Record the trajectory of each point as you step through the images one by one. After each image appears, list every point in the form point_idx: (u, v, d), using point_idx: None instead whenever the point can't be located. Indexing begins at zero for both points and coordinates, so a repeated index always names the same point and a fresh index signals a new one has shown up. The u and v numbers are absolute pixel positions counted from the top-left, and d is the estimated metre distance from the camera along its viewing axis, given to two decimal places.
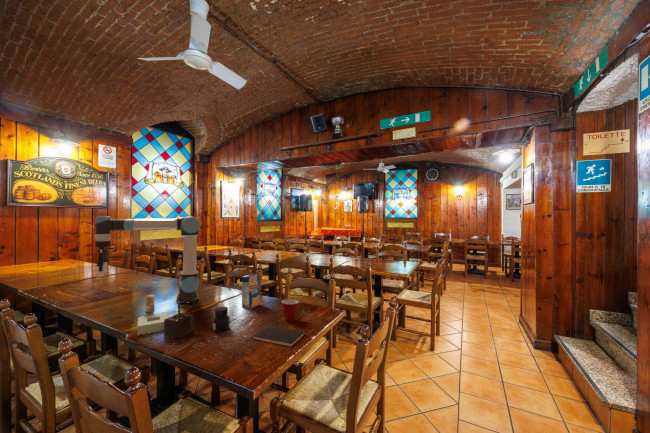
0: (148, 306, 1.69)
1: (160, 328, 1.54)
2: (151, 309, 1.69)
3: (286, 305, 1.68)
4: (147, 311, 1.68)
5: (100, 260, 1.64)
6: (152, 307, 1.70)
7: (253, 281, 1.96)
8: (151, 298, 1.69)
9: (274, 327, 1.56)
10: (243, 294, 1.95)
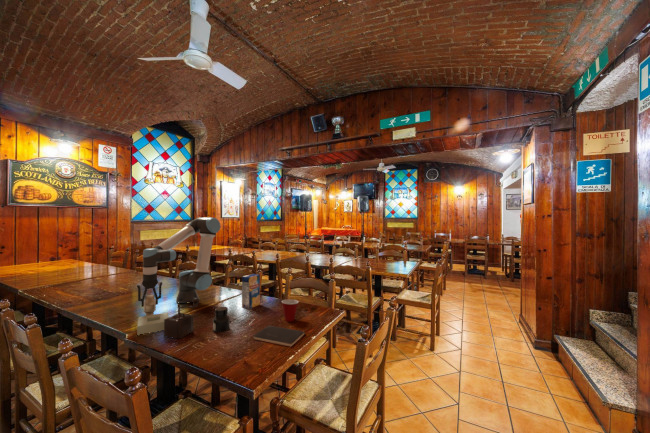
0: (148, 306, 1.69)
1: (160, 328, 1.54)
2: (151, 309, 1.69)
3: (286, 305, 1.68)
4: (147, 311, 1.68)
5: (138, 296, 1.68)
6: (152, 307, 1.70)
7: (253, 281, 1.96)
8: (151, 298, 1.69)
9: (274, 327, 1.56)
10: (243, 294, 1.95)
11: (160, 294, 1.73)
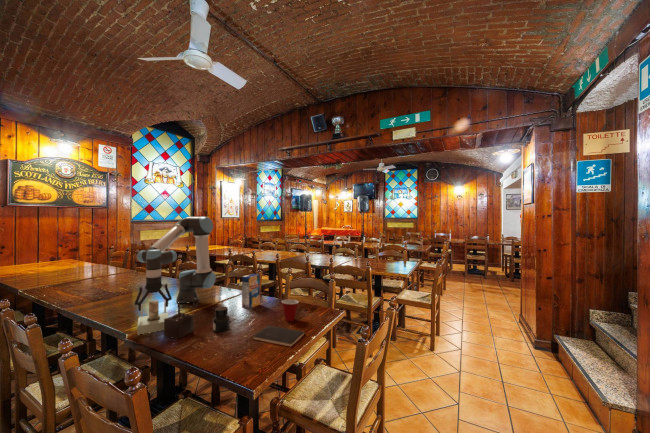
0: (152, 313, 1.57)
1: (160, 328, 1.54)
2: (155, 316, 1.58)
3: (286, 305, 1.68)
4: (151, 318, 1.57)
5: (136, 299, 1.55)
6: (156, 314, 1.58)
7: (253, 281, 1.96)
8: (155, 304, 1.58)
9: (274, 327, 1.56)
10: (243, 294, 1.95)
11: (169, 296, 1.62)
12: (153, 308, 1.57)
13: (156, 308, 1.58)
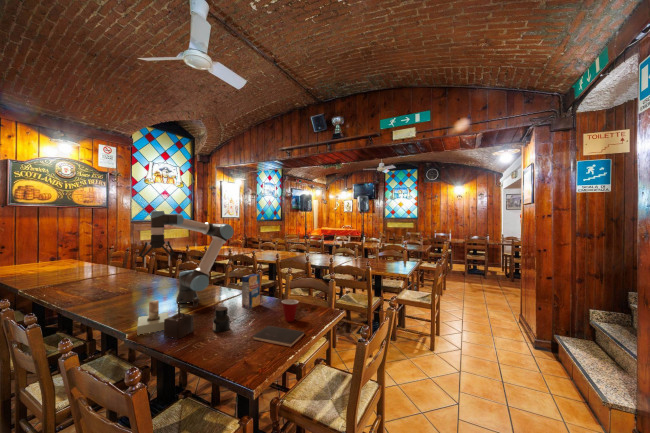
0: (152, 313, 1.57)
1: (160, 328, 1.54)
2: (155, 316, 1.58)
3: (286, 305, 1.68)
4: (151, 318, 1.57)
5: None
6: (156, 314, 1.58)
7: (253, 281, 1.96)
8: (155, 304, 1.58)
9: (273, 327, 1.56)
10: (243, 294, 1.95)
11: (173, 251, 1.83)
12: (153, 308, 1.57)
13: (156, 308, 1.58)
